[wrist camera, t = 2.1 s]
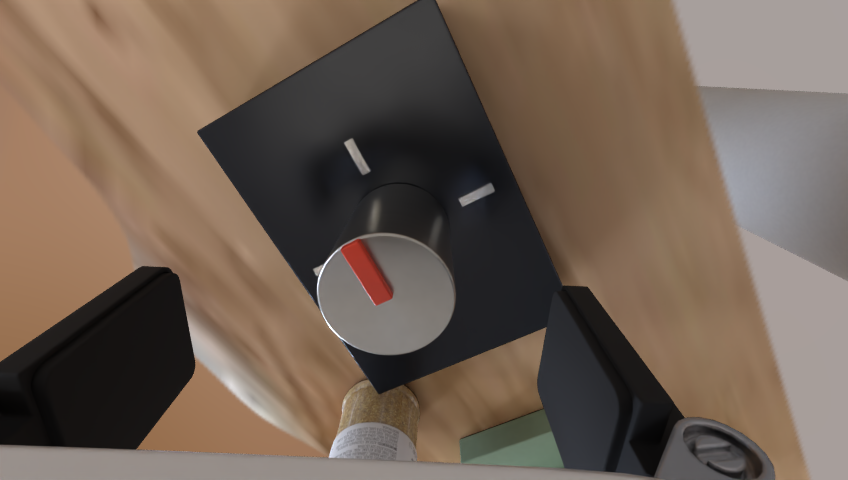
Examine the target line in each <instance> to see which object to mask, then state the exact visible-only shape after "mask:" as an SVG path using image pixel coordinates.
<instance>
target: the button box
mask: <svg viewBox="0 0 848 480" xmlns="http://www.w3.org/2000/svg"><path fill="white" fill-rule="evenodd" d="M460 455H461V463H465V464H486V465H508V466H529V467H550V468H564V465H563V462H562V459H561V456H560V453H559V450H558V447H557V444H556V442H555V439H554V436H553V433H552V430H551V427H550V424H549V421H548V418H547V416H546V413H545V410H544V409H542V410H540V411H537V412H534V413H531V414H529V415H526V416H523V417H520V418H518V419H515V420H512V421H509V422H507V423H504V424H501V425H498V426H496V427H493V428H490V429H487V430H485V431H482V432H479V433H477V434H474V435H471V436H468V437H466V438H463V439H460Z"/></svg>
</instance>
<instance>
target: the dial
mask: <svg viewBox="0 0 848 480" xmlns="http://www.w3.org/2000/svg"><path fill="white" fill-rule="evenodd" d="M317 298H318V303H319V307H320V310H321V313H322V315H323V317H324V319H325V321H326V322H327V324H328V325H329V327H330V328H331V329H332V330H333V332H335V333H336V334H337V335H338V336H339V337H340V338H341V339H342V340H344V341H345V342H346V343H348V344H350V345H351V346H353V347H355V348H358V349H360V350H363V351H366V352H369V353H373V354H379V355H400V354H405V353H410V352H413V351H416V350H418V349H420V348H422V347H425V346H426V345H428V344H429V343H431V342H432V341H434V340H435V339H436V338H437V337H438V336H439V335H440V334H441V333H442V332H443V331H444V329H445V328H446V326H447V325H448V324H449V322H450V320H451V317H452V315H453V312H454V309H455V303H456V289H455V279H454V269H453V259H452V249H451V239H450V229H449V222H448V219H447V216H446V213H445V211H444V209H443V208H442V206H441V205H440V203H439V202H438V201H437V200H436V199H435V198H434V197H433V196H432V195H431V194H429V193H428V192H426V191H425V190H423V189H421V188H418V187H416V186H412V185H408V184H390V185H385V186H382V187H380V188H377V189H375V190H373V191H372V192H370V193H369V194H368V195H366V196H365V197H364V198H363V199H362V200H361V201H360V203H359V204H358V206H357V207H356V209H355V211H354V213H353V214H352V216H351V218H350V219H349V221H348V223H347V225H346V226H345V228H344V230H343V232H342V233H341V235H340V237H339V239H338V240H337V242H336V244H335V246H334V247H333V249H332V251H331V253H330V254H329V256H328V258H327V260H326V261H325V263H324V265H323V267H322V269H321V272H320V275H319V278H318V283H317Z"/></svg>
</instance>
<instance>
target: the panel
mask: <svg viewBox="0 0 848 480" xmlns="http://www.w3.org/2000/svg"><path fill="white" fill-rule="evenodd" d="M197 133H198V135H199V136H200V137H201V139H202V140H203V142H204V143H205V145H206V146H207V147H208V149H209V150H210V152H211V153H212V155H213V156H214V158H215V159H216V160H217V162H218V163H219V165H220V166H221V168H222V169H223V171H224V172H225V173H226V175H227V176H228V178H229V179H230V181H231V182H232V184H233V185H234V186H235V188H236V189H237V191H238V192H239V194H240V195H241V197H242V198H243V199H244V201H245V202H246V204H247V205H248V207H249V208H250V210H251V211H252V212H253V214H254V215H255V217H256V218H257V220H258V221H259V223H260V224H261V225H262V227H263V228H264V230H265V231H266V233H267V234H268V236H269V237H270V238H271V240H272V241H273V243H274V244H275V246H276V247H277V249H278V250H279V251H280V253H281V254H282V256H283V257H284V259H285V260H286V261H287V263H288V264H289V266H290V267H291V269H292V270H293V272H294V273H295V274H296V276H297V277H298V279H299V280H300V282H301V283H302V285H303V286H304V287H305V289H306V290H307V292H308V293H309V295H310V296H311V298H312V299H313V300H314V302H315V303H316V305H317V306H318V308H319V309H320V307H319V303H318V298H317V283H318V278H319V275H320V272H321V269H322V267H323V265H324V263H325V261H326V260H327V258H328V256H329V254H330V253H331V251H332V249H333V247H334V246H335V244H336V242H337V240H338V239H339V237H340V235H341V233H342V232H343V230H344V228H345V226H346V225H347V223H348V221H349V219H350V218H351V216H352V214H353V213H354V211H355V209H356V207H357V206H358V204H359V203H360V201H361V200H362V199H363V198H364V197H365V196H366V195H368V194H369V193H370V192H372V191H373V190H375V189H377V188H380V187H382V186H385V185H390V184H408V185H412V186H416V187H418V188H421V189H423V190H425V191H426V192H428V193H429V194H431V195H432V196H433V197H434V198H435V199H436V200H437V201H438V202H439V203H440V205H441V206H442V208H443V209H444V211H445V213H446V216H447V219H448V222H449V229H450V239H451V249H452V259H453V269H454V279H455V289H456V303H455V309H454V312H453V315H452V317H451V320H450V322H449V324H448V325H447V326H446V328H445V329H444V331H443V332H442V333H441V334H440V335H439V336H438V337H437V338H436V339H435V340H434V341H432V342H431V343H429V344H428V345H426V346H425V347H422V348H420V349H418V350H416V351H413V352H410V353H405V354H400V355H379V354H373V353H369V352H366V351H363V350H360V349H358V348H355V347H353V346H351V345H350V344H348V343H346V342H345V341H344V340H342V339H341V338H340V337H339V336H338V337H339V338H340V339H341V341H342V342H343V344H344V345H345V347H346V348H347V350H348V351H349V352H350V354H351V355H352V357H353V358H354V360H355V361H356V363H357V364H358V365H359V367H360V368H361V370H362V371H363V373H364V374H365V375H366V377H367V378H368V380H369V381H370V383H371V384H372V386H373V387H374V388H375V390H376V391H377V393H378V394H382V393H384V392H387V391H389V390H392V389H394V388H397V387H399V386H402V385H404V384H406V383H409V382H411V381H414V380H416V379H419V378H421V377H424V376H426V375H429V374H431V373H434V372H436V371H439V370H441V369H444V368H446V367H449V366H451V365H454V364H456V363H459V362H461V361H464V360H466V359H468V358H471V357H473V356H476V355H478V354H481V353H483V352H486V351H488V350H491V349H493V348H496V347H498V346H501V345H503V344H506V343H508V342H511V341H513V340H516V339H518V338H521V337H523V336H526V335H528V334H530V333H533V332H535V331H538V330H540V329H543V328H545V327H547V324H548V318H549V313H550V307H551V302H552V297H553V293H554V292H555V291H560V290H561V288H562V287H563V285H562V283H561V281H560V279H559V276H558V274H557V272H556V270H555V267H554V265H553V263H552V261H551V258H550V256H549V254H548V252H547V249H546V247H545V245H544V243H543V240H542V238H541V236H540V234H539V231H538V229H537V227H536V225H535V222H534V220H533V218H532V216H531V213H530V211H529V209H528V207H527V204H526V202H525V200H524V198H523V195H522V193H521V191H520V189H519V186H518V184H517V182H516V180H515V177H514V175H513V173H512V171H511V168H510V166H509V164H508V162H507V159H506V157H505V155H504V153H503V150H502V148H501V146H500V144H499V141H498V139H497V137H496V135H495V132H494V130H493V128H492V126H491V123H490V121H489V119H488V117H487V114H486V112H485V110H484V108H483V105H482V103H481V101H480V99H479V96H478V94H477V92H476V90H475V87H474V85H473V83H472V81H471V78H470V76H469V74H468V72H467V69H466V67H465V65H464V63H463V60H462V58H461V56H460V54H459V51H458V49H457V47H456V45H455V42H454V40H453V38H452V36H451V33H450V31H449V29H448V27H447V24H446V22H445V20H444V18H443V15H442V13H441V11H440V9H439V6H438V4H437V2H436V0H417V1H415V2H414V3H412V4H410V5H409V6H407V7H405V8H404V9H402V10H400V11H399V12H397V13H395V14H394V15H392V16H390V17H389V18H387V19H385V20H383V21H382V22H380V23H378V24H377V25H375V26H373V27H372V28H370V29H368V30H367V31H365V32H363V33H362V34H360V35H358V36H357V37H355V38H353V39H352V40H350V41H348V42H346V43H345V44H343V45H341V46H340V47H338V48H336V49H335V50H333V51H331V52H330V53H328V54H326V55H325V56H323V57H321V58H320V59H318V60H316V61H314V62H313V63H311V64H309V65H308V66H306V67H304V68H303V69H301V70H299V71H298V72H296V73H294V74H293V75H291V76H289V77H288V78H286V79H284V80H282V81H281V82H279V83H277V84H276V85H274V86H272V87H271V88H269V89H267V90H266V91H264V92H262V93H261V94H259V95H257V96H256V97H254V98H252V99H250V100H249V101H247V102H245V103H244V104H242V105H240V106H239V107H237V108H235V109H234V110H232V111H230V112H229V113H227V114H225V115H224V116H222V117H220V118H219V119H217V120H215V121H213V122H212V123H210V124H208V125H207V126H205V127H203V128H202V129H200V130H198V131H197ZM320 311H321V310H320Z"/></svg>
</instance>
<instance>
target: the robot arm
mask: <svg viewBox="0 0 848 480" xmlns="http://www.w3.org/2000/svg"><path fill="white" fill-rule="evenodd" d="M194 370H195V358H194V353H193V348H192V343H191V337H190V332H189V327H188V321H187V316H186V311H185V306H184V300H183V295H182V290H181V284H180V280H179V277H178V275H177V274H175V273H173V272H172V271H171V269H169V268H168V267H148V266H142V267H140V268H138V269H137V270H135V271H134V272H132V273H131V274H129V275H128V276H126V277H125V278H124V279H122V280H121V281H119V282H118V283H116V284H114V285H113V286H112V287H110V288H109V289H107V290H106V291H104V292H103V293H101V294H100V295H98V296H97V297H95V298H94V299H92V300H91V301H90V302H88V303H86V304H85V305H83V306H82V307H81V308H79V309H78V310H76V311H75V312H73V313H72V314H70V315H69V316H67V317H66V318H64V319H63V320H61V321H60V322H58V323H57V324H55V325H54V326H53V327H51V328H50V329H48V330H47V331H45V332H44V333H42V334H41V335H39V336H38V337H36V338H35V339H33V340H32V341H30V342H29V343H27V344H26V345H24V346H23V347H21V348H20V349H19V350H17V351H16V352H14V353H13V354H11V355H10V356H8V357H7V358H5V359H4V360H2V361H1V362H0V480H775V472H774V467H773V464H772V463H771V461H770V460H769V458H768V456H767V455H766V453H765V452H764V451H763V450H762V449H761V448H760V447H759V446H758V445H757V444H756V443H754V442H753V441H752V440H750V439H749V438H748V437H746V436H745V435H744V434H742V433H741V432H739V431H737V430H735V429H733V428H731V427H729V426H728V425H725V424H722V423H720V422H717V421H714V420H711V419H706V418H701V417H687V418H684V416H683V415H682V414H681V412H680V411H679V409H678V408H677V407H676V405H675V404H674V402H673V401H672V399H671V398H670V397H669V395H668V394H667V393H666V391H665V390H664V389H663V387H662V386H661V385H660V383H659V382H658V381H657V379H656V378H655V377H654V375H653V374H652V373H651V371H650V370H649V369H648V367H647V366H646V364H645V363H644V362H643V360H642V359H641V358H640V356H639V355H638V354H637V352H636V351H635V350H634V348H633V347H632V346H631V344H630V343H629V342H628V340H627V339H626V338H625V336H624V335H623V334H622V332H621V331H620V330H619V328H618V327H617V326H616V324H615V323H614V322H613V320H612V319H611V318H610V316H609V315H608V313H607V312H606V311H605V309H604V308H603V307H602V305H601V304H600V303H599V301H598V300H597V299H596V297H595V296H594V295H593V293H592V292H591V291H590V289H589V288H588V287H583V286H563V287H562V288H561V290H560V291H555V292H554V293H553V297H552V302H551V307H550V313H549V318H548V324H547V329H546V335H545V340H544V345H543V351H542V356H541V362H540V367H539V373H538V379H537V386H538V392H539V395H540V398H541V401H542V404H543V407H544V410H545V413H546V416H547V418H548V421H549V424H550V427H551V430H552V433H553V436H554V439H555V442H556V444H557V447H558V450H559V453H560V456H561V459H562V462H563V465H564V468H550V467H529V466H508V465H486V464H465V463H444V462H423V461H400V460H376V459H352V458H328V457H303V456H278V455H256V454H254V455H253V454H231V453H230V454H229V453H208V452H184V451H183V452H182V451H159V450H136V449H137V448H138V446H139V445H140V444H141V442H142V441H143V440H144V438H145V437H146V436H147V435H148V433H149V432H150V431H151V429H152V428H153V427H154V426H155V424H156V423H157V422H158V420H159V419H160V418H161V416H162V415H163V414H164V412H165V411H166V410H167V409H168V408H169V406H170V405H171V403H172V402H173V401H174V400H175V398H176V397H177V396H178V395H179V393H180V392H181V391H182V389H183V388H184V387H185V385H186V384H187V383H188V382H189V380H190V379H191V378H192V376H193V374H194Z"/></svg>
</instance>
